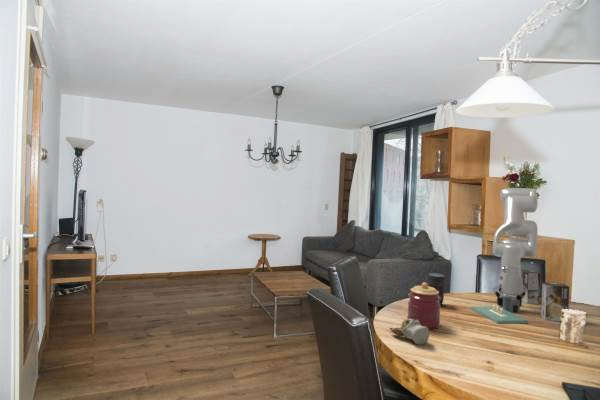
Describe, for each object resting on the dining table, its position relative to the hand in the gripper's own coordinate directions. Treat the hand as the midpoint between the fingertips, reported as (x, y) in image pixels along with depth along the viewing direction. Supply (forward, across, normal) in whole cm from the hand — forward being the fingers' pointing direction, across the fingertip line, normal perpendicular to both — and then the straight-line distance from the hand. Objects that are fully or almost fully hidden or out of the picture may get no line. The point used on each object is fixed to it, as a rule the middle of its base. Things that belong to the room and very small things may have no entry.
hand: (509, 305), depth 185 cm
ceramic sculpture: (+3, -64, -35) cm, 74 cm away
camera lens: (+2, -34, +8) cm, 35 cm away
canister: (+3, -53, -20) cm, 56 cm away
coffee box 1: (+2, +21, +14) cm, 26 cm away
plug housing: (+2, 0, 0) cm, 2 cm away
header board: (+2, -12, -9) cm, 15 cm away
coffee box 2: (+2, +12, -14) cm, 19 cm away
